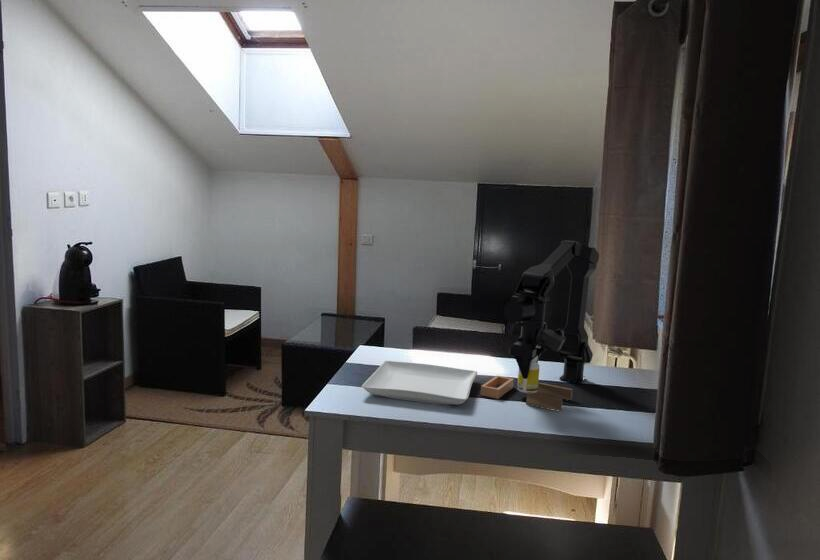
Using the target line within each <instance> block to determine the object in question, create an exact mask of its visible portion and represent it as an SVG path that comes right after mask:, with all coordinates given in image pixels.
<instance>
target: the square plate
mask: <svg viewBox="0 0 820 560" xmlns="http://www.w3.org/2000/svg"><path fill="white" fill-rule="evenodd" d="M477 375H478V371H476V370H469V369H463V368H456V367H448V366H443V365H435V364H427V363H416V362H407V361H406V362H405V361H396V360H395V361H393V360H392V361H391V360H385V361H384V362H382V364H381V365H380V366H379V367H378V368H377V369H376V370H375V371H374V372H373V373H372V374H371V375H370V376H369V377H368V378H367V379H366V381H365V382H364V383H363V384H362V385H361V388H362V389H364V390H365V392H366V393H369V394H371V395H374V396H383V397H384V396H385V397H384V398H388V399H395V400H403V401H405V400H406V401H411V402H412V401H413V402H419V403H420V402H421V403H426V404H428V403H429V404H435V405H436V404H437V405H456V406H457V405H461V404H464V403H465V402H466V401H467V400H468V399H469V396H470V393H471V388H472V386H473V383H474V381H475V379H476V378H477Z"/></svg>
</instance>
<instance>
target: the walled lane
mask: <svg viewBox="0 0 820 560" xmlns="http://www.w3.org/2000/svg"><path fill="white" fill-rule="evenodd" d="M573 390H574V389H573V388H570V387H566V386H565V387H563V386H558V385H554V384H548V383H544V382H538V391H537V393H530V392H528V393H526V398H525V399H526V400H525V405H526V404H528V405H527V406H531V405H533V406H532V407H536V406H538V407H537V408H540V407H543V408H542V409H545V408H549V409H548V410H550V409H554V410H559V411H561V410H562V409H563V401H564V400H563V399H567V400H566V401H568V400H571V399H572V400H573V392H574V391H573ZM540 394H541V395H540ZM545 395H546V396H545ZM550 396H553V397H550ZM555 397H558V398H555ZM560 398H563V399H560ZM572 400H571V401H572ZM554 410H553V411H554ZM559 411H558V412H559ZM562 411H563V410H562ZM562 411H561V412H562Z"/></svg>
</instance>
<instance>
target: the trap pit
mask: <svg viewBox="0 0 820 560" xmlns="http://www.w3.org/2000/svg"><path fill="white" fill-rule="evenodd" d="M514 382H515V378H512V377H506V376H503V375H502V376H501V375H496V376H494V377H492V378H491V379H489V380H488V381H487V382H485V383H484V384H482V385H480V396H483V397H487V398H492V399H497V400H499V399H500V398H501V397H503V396H504V395H506V394H507V393H508V392H509V391H511V390H512V389H513V388H514Z"/></svg>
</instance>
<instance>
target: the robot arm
mask: <svg viewBox="0 0 820 560" xmlns="http://www.w3.org/2000/svg"><path fill="white" fill-rule="evenodd" d="M599 257H600V254H599V252H598V251H597V249H596V247H593V246H587V245H584V244H582V243H581V242H578V241H576V240H568V239H567V240H566V239H564V240H561V241H560V242H559V246H558V247H556V249H554V250H553V252H551V253H550V254H549V255H548V257H547V258H546V259H545V260H543V261H542V263H540V264H537V265H534V266H531V267H529V268H528V269H526V270H525V271H524V272H523V273H522V275H521V276H520V279H519V281H518V282H517V285H516V288H515V290H514V292H513V295H512V296H511V297H510V299H511V300H509V301H508V302H506V303H505V305H504V307H503V310H502V312H503V316H504V318H505V320H506V321H508V322H509V323H510V324H518V323H519V325H518V326H519V327H521V329H520V336H519V337H518V339H517V341H516V342H514V343H512V344H511V345H509V347H508V355H511V356H513V357H514V359H515V361H516V363H517V366H518V370H519V369H520V371H521V374H522V377H523V378H524V379H527V378H528V374H529V370H530V366H531V362H532V360H533V359H534V358H535V357H537V356H538V360H537V361H536V363H538V362H539V361H540V360H539V359H540V357H541V354H543V353H544V352H545V351H546V350H548V349H549V348H550V349H551V350H552V351H553V352H557V355H558V358H561V359H564V365H563V374H562V375H561V376H560V377H559V380H560V379H563V380H562V381H565V380H569V381H568V382H570V381H575V382H582V381H583V377H585V376H584V372H585V371H584V370H585V364H590V363H591V362H592V360H593V355H594V353H593V351H592V349H591V347H590V345H589V335H588V332H587V331H586V328H585V318H586V317H585V316H586V308H587V300H588V291H589V282H590V278H591V276H592V274H593V273H594V272H595V271H596V269H597V264H598V262H599V260H600V258H599ZM566 266H567V269H568V271H569V273H570V275H571V280H570V290H569V298H568V299H569V300H568V307H567V317H566V325H565V326H564V328H563V329H561V328H557V329H556V330H553V329H549V328H548V324H547V322H546V321H545V315H546V305H547V302H549V301H550V297H549V296H548V293H549V292H550V291H551V290H552V288H553V287H554V286H555V278H556V276H557V275H558V274H559V273H560V272H561V271H562V270H563V269H564V268H565V267H566ZM543 345H544V346H543ZM538 364H539V363H538ZM575 382H574V383H575ZM583 382H584V381H583ZM583 382H582V383H583Z"/></svg>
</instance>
